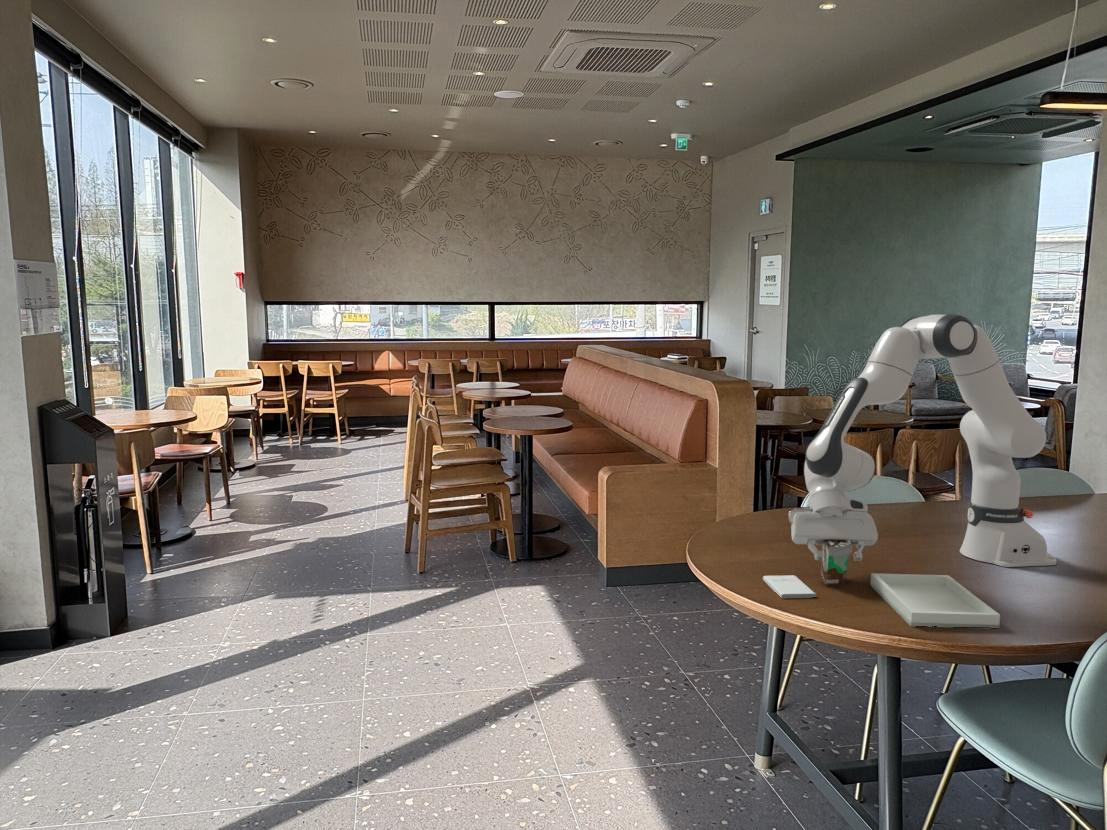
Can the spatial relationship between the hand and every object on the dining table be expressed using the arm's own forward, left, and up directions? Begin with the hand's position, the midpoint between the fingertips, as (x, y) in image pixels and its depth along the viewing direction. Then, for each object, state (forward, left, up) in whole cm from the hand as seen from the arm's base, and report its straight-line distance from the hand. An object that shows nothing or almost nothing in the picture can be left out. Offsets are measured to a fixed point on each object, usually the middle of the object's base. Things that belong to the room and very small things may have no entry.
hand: (838, 559), depth 192 cm
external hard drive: (+13, +6, -6) cm, 15 cm away
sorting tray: (-16, +14, -5) cm, 22 cm away
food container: (0, -1, -6) cm, 6 cm away
